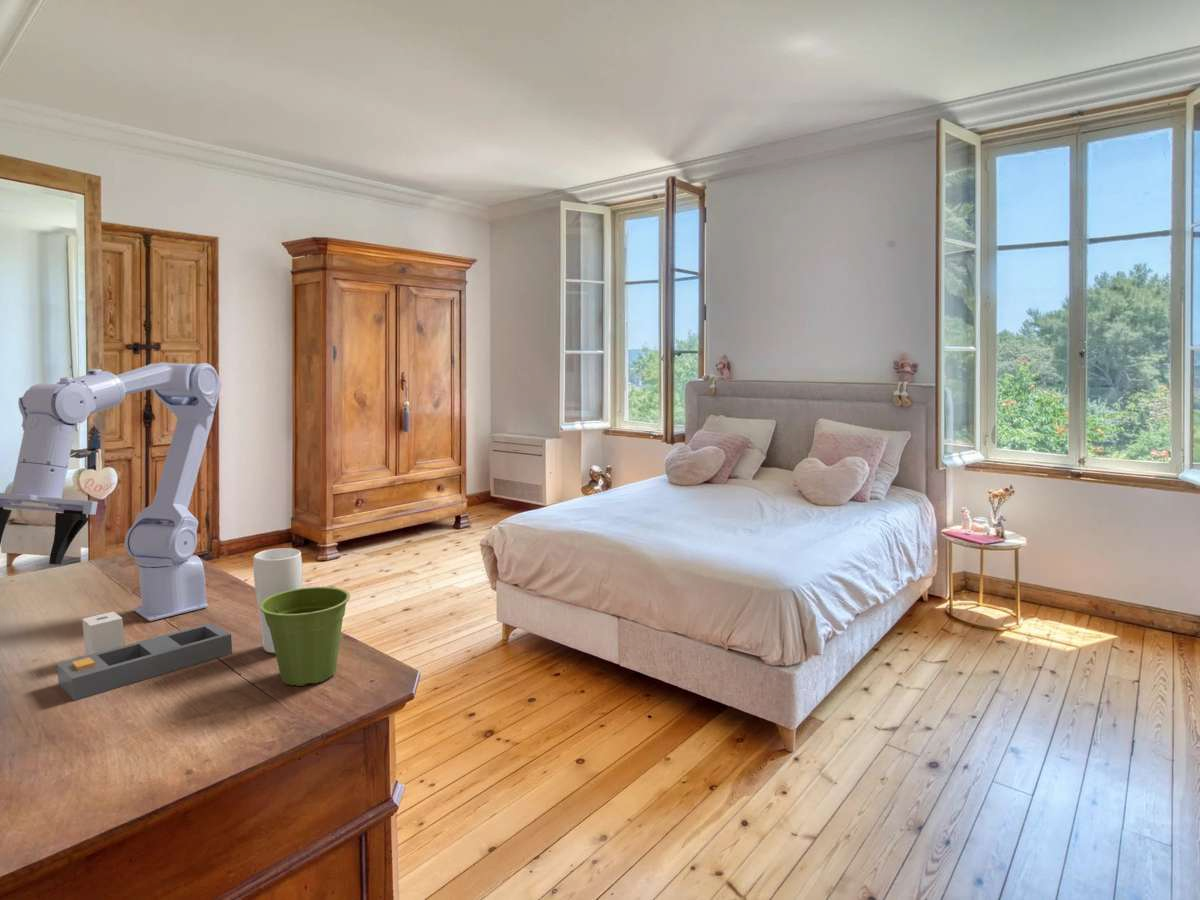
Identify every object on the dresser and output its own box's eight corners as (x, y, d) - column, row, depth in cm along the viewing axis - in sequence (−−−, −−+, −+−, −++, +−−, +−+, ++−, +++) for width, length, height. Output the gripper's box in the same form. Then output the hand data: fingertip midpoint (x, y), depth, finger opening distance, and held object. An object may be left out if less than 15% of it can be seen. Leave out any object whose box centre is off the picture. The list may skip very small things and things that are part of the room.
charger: (116, 649, 109) (113, 610, 109) (125, 656, 107) (122, 617, 106) (85, 657, 106) (82, 617, 105) (94, 665, 104) (90, 624, 103)
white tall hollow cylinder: (258, 660, 106) (253, 562, 104) (257, 643, 112) (252, 550, 110) (307, 651, 109) (303, 556, 107) (303, 636, 115) (299, 545, 113)
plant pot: (363, 657, 108) (360, 585, 106) (336, 695, 96) (333, 615, 94) (283, 657, 107) (280, 585, 106) (247, 695, 96) (243, 614, 94)
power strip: (212, 640, 113) (211, 619, 112) (232, 653, 108) (230, 631, 108) (58, 684, 98) (56, 659, 97) (73, 700, 93) (71, 675, 93)
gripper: (-34, 456, 96) (-57, 558, 94) (91, 468, 100) (72, 566, 98) (-8, 462, 102) (-29, 558, 100) (108, 473, 107) (91, 565, 104)
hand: (22, 562), depth 99 cm, fingers open, 7 cm apart
